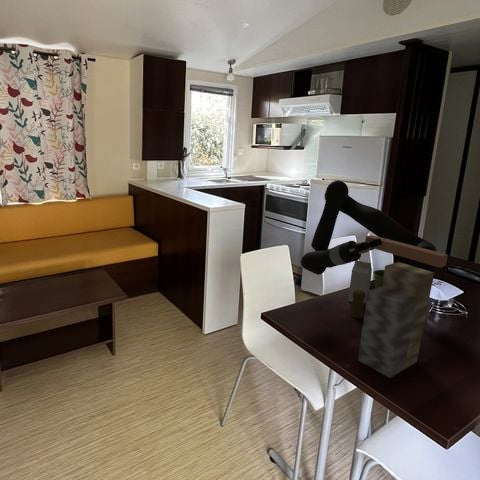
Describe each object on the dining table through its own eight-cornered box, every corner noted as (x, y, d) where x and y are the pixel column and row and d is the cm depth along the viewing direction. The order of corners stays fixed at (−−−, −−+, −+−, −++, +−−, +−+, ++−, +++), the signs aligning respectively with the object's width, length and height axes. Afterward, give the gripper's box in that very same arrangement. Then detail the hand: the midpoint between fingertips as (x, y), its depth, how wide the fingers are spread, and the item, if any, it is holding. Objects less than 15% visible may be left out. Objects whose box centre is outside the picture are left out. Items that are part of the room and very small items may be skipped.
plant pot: (374, 289, 190) (377, 267, 187) (399, 295, 184) (402, 273, 181) (366, 296, 181) (369, 274, 178) (392, 303, 174) (396, 280, 171)
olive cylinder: (364, 319, 158) (367, 294, 155) (349, 317, 159) (352, 292, 156) (362, 312, 163) (366, 288, 160) (348, 311, 164) (351, 287, 162)
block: (364, 246, 132) (365, 236, 131) (370, 244, 134) (371, 235, 133) (440, 267, 112) (442, 256, 111) (445, 265, 114) (447, 254, 113)
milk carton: (363, 305, 171) (369, 265, 166) (347, 301, 174) (352, 262, 169) (367, 300, 176) (373, 261, 171) (352, 296, 180) (357, 258, 175)
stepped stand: (357, 360, 128) (370, 270, 119) (384, 346, 137) (398, 261, 129) (390, 378, 119) (406, 282, 110) (416, 362, 128) (433, 272, 120)
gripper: (329, 246, 138) (368, 232, 124) (353, 241, 146) (392, 227, 132) (335, 266, 136) (375, 254, 123) (359, 260, 145) (399, 248, 131)
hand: (384, 240), depth 128 cm, fingers closed on block, 3 cm apart
